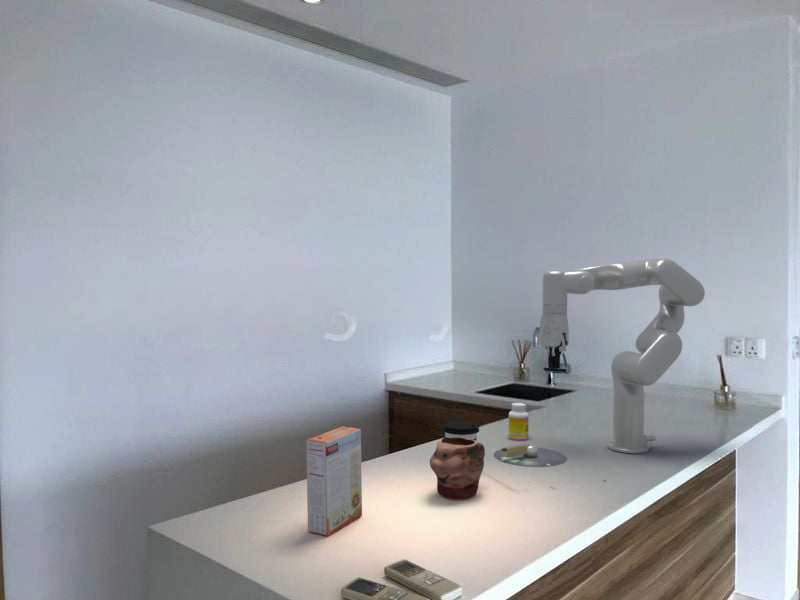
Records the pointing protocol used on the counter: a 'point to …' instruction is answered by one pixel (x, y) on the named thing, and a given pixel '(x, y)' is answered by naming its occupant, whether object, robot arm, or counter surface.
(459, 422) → the coffee cup
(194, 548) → the counter surface
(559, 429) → the counter surface
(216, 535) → the counter surface
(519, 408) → the supplement bottle
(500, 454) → the dial
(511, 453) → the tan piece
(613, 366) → the robot arm
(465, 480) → the decorative planter
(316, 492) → the cracker box
